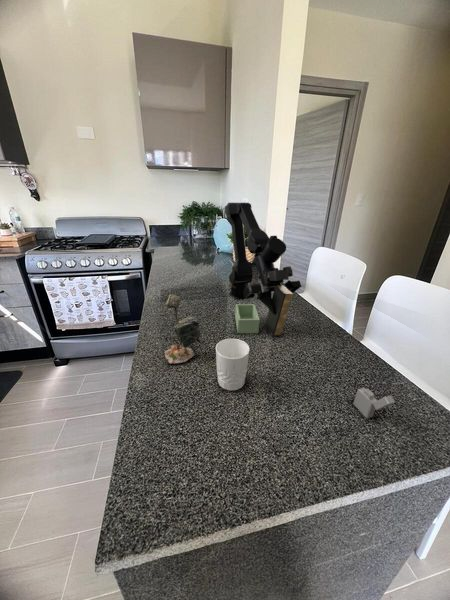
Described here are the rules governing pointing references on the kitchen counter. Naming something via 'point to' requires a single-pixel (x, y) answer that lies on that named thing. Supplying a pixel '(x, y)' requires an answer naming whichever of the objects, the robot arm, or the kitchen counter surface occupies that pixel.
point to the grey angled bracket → (370, 402)
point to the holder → (247, 318)
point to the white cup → (232, 363)
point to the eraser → (279, 309)
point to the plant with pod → (182, 335)
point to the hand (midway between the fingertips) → (279, 313)
